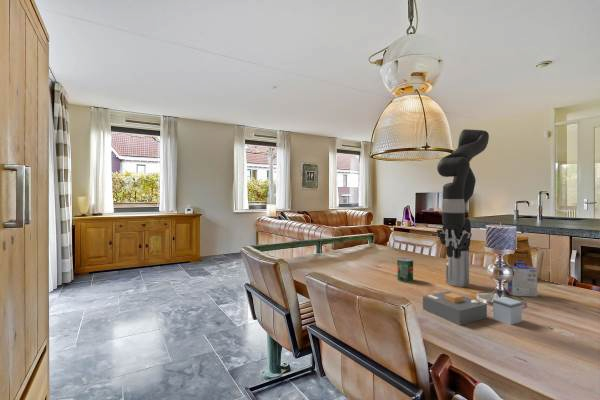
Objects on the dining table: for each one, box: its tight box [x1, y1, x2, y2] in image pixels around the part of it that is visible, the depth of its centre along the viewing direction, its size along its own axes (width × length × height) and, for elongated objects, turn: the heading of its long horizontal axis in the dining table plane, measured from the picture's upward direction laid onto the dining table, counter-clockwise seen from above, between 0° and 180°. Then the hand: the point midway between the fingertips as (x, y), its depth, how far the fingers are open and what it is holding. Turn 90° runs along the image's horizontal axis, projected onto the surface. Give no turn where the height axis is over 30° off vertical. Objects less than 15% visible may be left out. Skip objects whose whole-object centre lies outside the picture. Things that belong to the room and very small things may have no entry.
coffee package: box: [504, 236, 533, 267], centre depth 157 cm, size 10×12×22 cm
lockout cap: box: [492, 296, 523, 326], centre depth 105 cm, size 6×6×7 cm
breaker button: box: [444, 292, 463, 303], centre depth 111 cm, size 4×4×5 cm
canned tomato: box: [396, 257, 414, 283], centre depth 155 cm, size 8×8×11 cm
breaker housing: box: [422, 291, 488, 326], centre depth 111 cm, size 16×14×6 cm
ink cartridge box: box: [507, 261, 538, 297], centre depth 131 cm, size 10×6×14 cm, turn 78°
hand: (453, 257), depth 111 cm, fingers open, 2 cm apart
